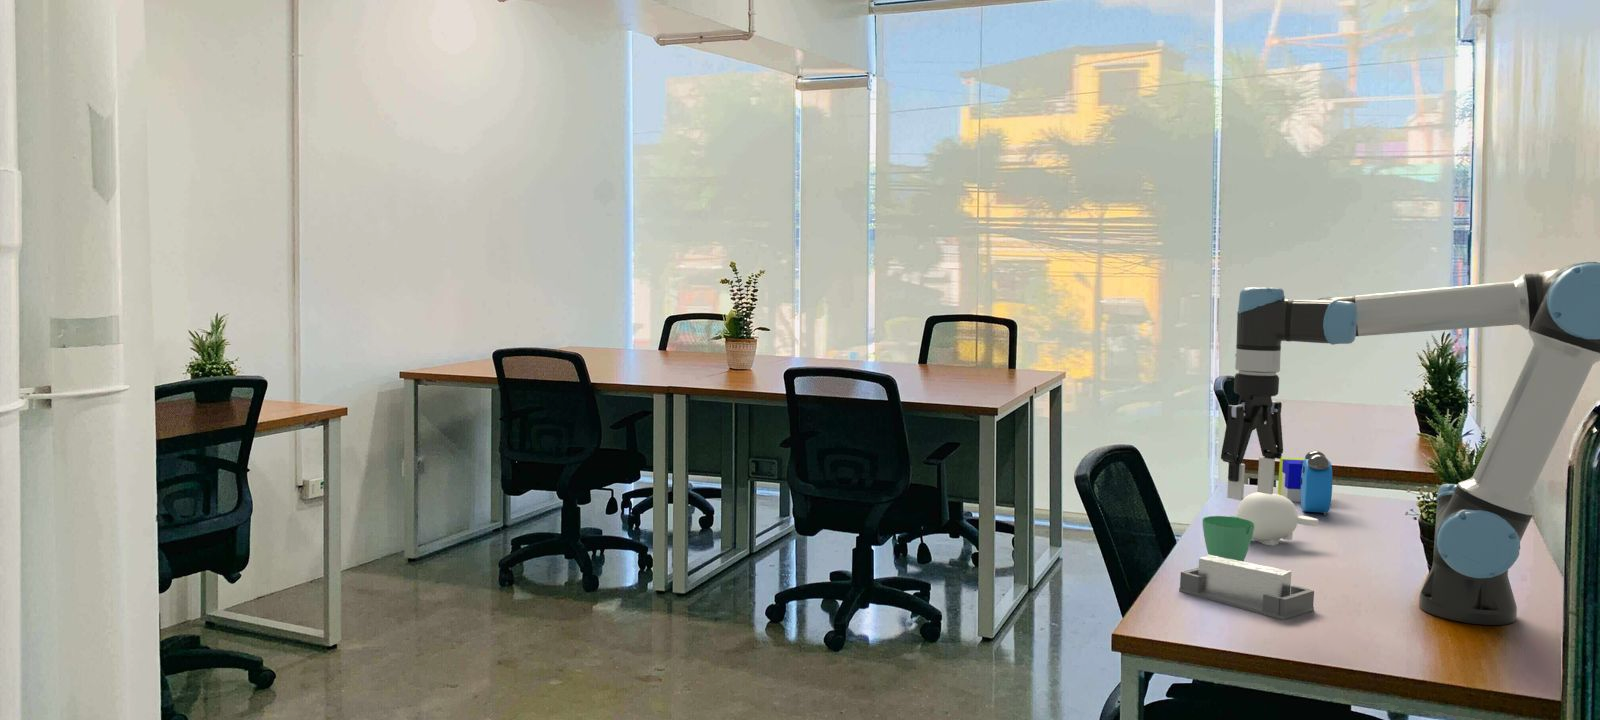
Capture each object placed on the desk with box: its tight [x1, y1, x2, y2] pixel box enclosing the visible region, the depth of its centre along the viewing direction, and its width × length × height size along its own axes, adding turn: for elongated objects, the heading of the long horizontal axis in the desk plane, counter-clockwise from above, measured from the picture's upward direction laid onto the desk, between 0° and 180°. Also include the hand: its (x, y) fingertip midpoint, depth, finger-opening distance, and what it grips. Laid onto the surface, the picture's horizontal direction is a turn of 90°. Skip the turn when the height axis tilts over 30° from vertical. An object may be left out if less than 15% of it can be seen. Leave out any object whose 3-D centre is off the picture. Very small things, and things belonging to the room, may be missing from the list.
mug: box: [1202, 515, 1254, 562], centre depth 235 cm, size 15×10×10 cm
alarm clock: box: [1300, 450, 1333, 516], centre depth 289 cm, size 13×6×15 cm, turn 162°
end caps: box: [1178, 567, 1315, 621], centre depth 212 cm, size 21×10×4 cm, turn 37°
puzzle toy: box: [1277, 456, 1305, 503], centre depth 306 cm, size 10×10×10 cm
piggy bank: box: [1236, 492, 1319, 546], centre depth 257 cm, size 12×12×15 cm
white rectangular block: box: [1198, 554, 1292, 604], centre depth 213 cm, size 16×4×6 cm, turn 46°
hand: (1250, 495), depth 211 cm, fingers open, 9 cm apart
